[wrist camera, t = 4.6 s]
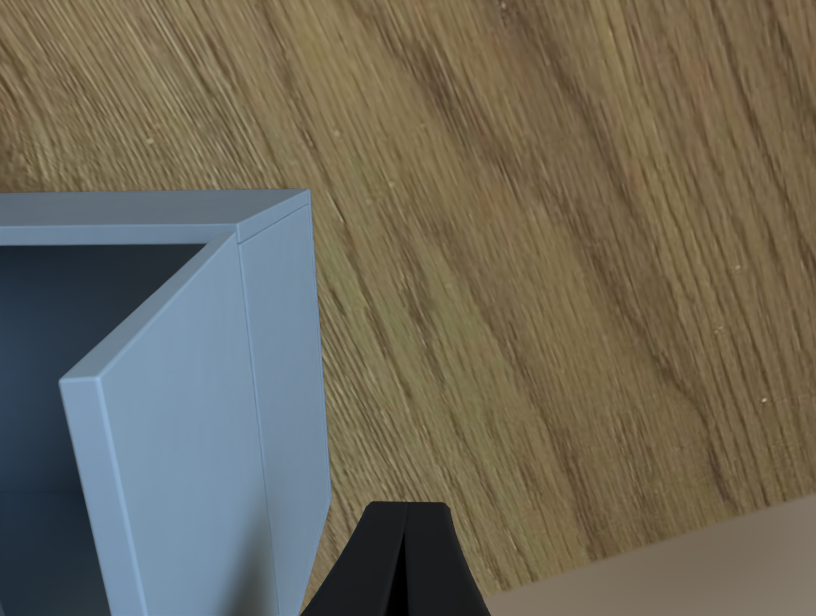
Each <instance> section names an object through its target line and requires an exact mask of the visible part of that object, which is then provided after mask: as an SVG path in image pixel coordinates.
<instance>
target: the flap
mask: <svg viewBox="0 0 816 616" xmlns="http://www.w3.org/2000/svg"><path fill="white" fill-rule="evenodd" d="M58 384H59V389H60V393H61V397H62V402H63V406H64V411H65V415H66V419H67V424H68V428H69V433H70V437H71V442H72V446H73V450H74V455H75V459H76V464H77V468H78V472H79V477H80V481H81V486H82V490H83V494H84V499H85V503H86V508H87V512H88V516H89V521H90V525H91V530H92V534H93V539H94V543H95V547H96V552H97V556H98V561H99V565H100V569H101V574H102V578H103V583H104V587H105V591H106V596H107V600H108V605H109V609H110V613H111V616H279V613H278V604H277V595H276V586H275V577H274V568H273V559H272V550H271V541H270V532H269V523H268V514H267V505H266V496H265V487H264V479H263V470H262V461H261V452H260V443H259V434H258V425H257V416H256V407H255V398H254V389H253V380H252V371H251V362H250V353H249V344H248V336H247V327H246V318H245V309H244V300H243V291H242V282H241V273H240V264H239V255H238V246H237V237H236V233H235V232H221V233H219V234H218V235H217V236H216V237H214V238H213V239H212V240H211V241H210V242H209V243H208V244H207V245H206V246H205V247H204V248H202V249H201V250H200V251H199V252H198V253H197V254H196V255H195V256H194V257H193V258H191V259H190V260H189V261H188V262H187V263H186V264H185V265H184V266H183V267H182V268H181V269H179V270H178V271H177V272H176V273H175V274H174V275H173V276H172V277H171V278H170V279H168V280H167V281H166V282H165V283H164V284H163V285H162V286H161V287H160V288H159V289H158V290H156V291H155V292H154V293H153V294H152V295H151V296H150V297H149V298H148V299H147V300H145V301H144V302H143V303H142V304H141V305H140V306H139V307H138V308H137V309H136V310H135V311H133V312H132V313H131V314H130V315H129V316H128V317H127V318H126V319H125V320H124V321H122V322H121V323H120V324H119V325H118V326H117V327H116V328H115V329H114V330H113V331H112V332H110V333H109V334H108V335H107V336H106V337H105V338H104V339H103V340H102V341H101V342H99V343H98V344H97V345H96V346H95V347H94V348H93V349H92V350H91V351H90V352H89V353H87V354H86V355H85V356H84V357H83V358H82V359H81V360H80V361H79V362H78V363H76V364H75V365H74V366H73V367H72V368H71V369H70V370H69V371H68V372H67V373H66V374H64V375H63V376H62V377H61V378H60V379H59V383H58Z"/></svg>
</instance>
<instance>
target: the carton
mask: <svg viewBox="0 0 816 616" xmlns="http://www.w3.org/2000/svg"><path fill="white" fill-rule="evenodd" d="M221 232H235V233H236V237H237V246H238V255H239V264H240V273H241V282H242V291H243V300H244V309H245V318H246V327H247V336H248V344H249V353H250V362H251V371H252V380H253V389H254V398H255V407H256V416H257V425H258V434H259V443H260V452H261V461H262V470H263V479H264V487H265V496H266V505H267V514H268V523H269V532H270V541H271V550H272V559H273V568H274V577H275V586H276V595H277V604H278V613H279V616H299V613H300V609H301V605H302V602H303V598H304V595H305V591H306V588H307V584H308V581H309V577H310V574H311V570H312V566H313V563H314V559H315V556H316V552H317V549H318V545H319V542H320V538H321V534H322V531H323V527H324V524H325V520H326V517H327V513H328V510H329V506H330V502H331V499H332V495H331V481H330V467H329V452H328V438H327V424H326V410H325V395H324V381H323V367H322V353H321V338H320V324H319V310H318V296H317V281H316V267H315V253H314V238H313V224H312V210H311V196H310V189H255V190H184V191H113V192H42V193H0V616H111V613H110V609H109V605H108V600H107V596H106V591H105V587H104V583H103V578H102V574H101V569H100V565H99V561H98V556H97V552H96V547H95V543H94V539H93V534H92V530H91V525H90V521H89V516H88V512H87V508H86V503H85V499H84V494H83V490H82V486H81V481H80V477H79V472H78V468H77V464H76V459H75V455H74V450H73V446H72V442H71V437H70V433H69V428H68V424H67V419H66V415H65V411H64V406H63V402H62V397H61V393H60V389H59V384H58V383H59V379H60V378H61V377H62V376H63V375H64V374H66V373H67V372H68V371H69V370H70V369H71V368H72V367H73V366H74V365H75V364H76V363H78V362H79V361H80V360H81V359H82V358H83V357H84V356H85V355H86V354H87V353H89V352H90V351H91V350H92V349H93V348H94V347H95V346H96V345H97V344H98V343H99V342H101V341H102V340H103V339H104V338H105V337H106V336H107V335H108V334H109V333H110V332H112V331H113V330H114V329H115V328H116V327H117V326H118V325H119V324H120V323H121V322H122V321H124V320H125V319H126V318H127V317H128V316H129V315H130V314H131V313H132V312H133V311H135V310H136V309H137V308H138V307H139V306H140V305H141V304H142V303H143V302H144V301H145V300H147V299H148V298H149V297H150V296H151V295H152V294H153V293H154V292H155V291H156V290H158V289H159V288H160V287H161V286H162V285H163V284H164V283H165V282H166V281H167V280H168V279H170V278H171V277H172V276H173V275H174V274H175V273H176V272H177V271H178V270H179V269H181V268H182V267H183V266H184V265H185V264H186V263H187V262H188V261H189V260H190V259H191V258H193V257H194V256H195V255H196V254H197V253H198V252H199V251H200V250H201V249H202V248H204V247H205V246H206V245H207V244H208V243H209V242H210V241H211V240H212V239H213V238H214V237H216V236H217V235H218V234H219V233H221Z"/></svg>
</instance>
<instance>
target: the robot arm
mask: <svg viewBox="0 0 816 616" xmlns="http://www.w3.org/2000/svg"><path fill="white" fill-rule="evenodd" d="M300 616H491V615H490V613H489V611H488V609H487V607H486V605H485V603H484V601H483V598H482V596H481V594H480V592H479V590H478V588H477V585H476V583H475V581H474V579H473V577H472V575H471V572H470V570H469V567H468V565H467V563H466V560H465V557H464V555H463V552H462V550H461V547H460V544H459V541H458V538H457V535H456V532H455V529H454V525H453V521H452V517H451V511H450V508H449V507H448V506H447V505H446V504H445V503H444V502H387V501H372V502H371V503H370V504H369V505H368V506H366V508H365V510H364V512H363V515H362V517H361V519H360V521H359V523H358V525H357V527H356V529H355V531H354V532H353V534H352V536H351V538H350V540H349V541H348V543H347V545H346V547H345V548H344V550H343V552H342V553H341V555H340V557H339V558H338V560H337V562H336V563H335V565H334V566H333V568H332V569H331V571H330V573H329V574H328V576H327V577H326V579H325V580H324V582H323V583H322V585H321V587H320V588H319V590H318V591H317V593H316V594H315V596H314V597H313V599H312V600H311V602H310V603H309V604H308V606H307V607H306V608H305V610H304V611H303V613H302V614H301V615H300Z"/></svg>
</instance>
